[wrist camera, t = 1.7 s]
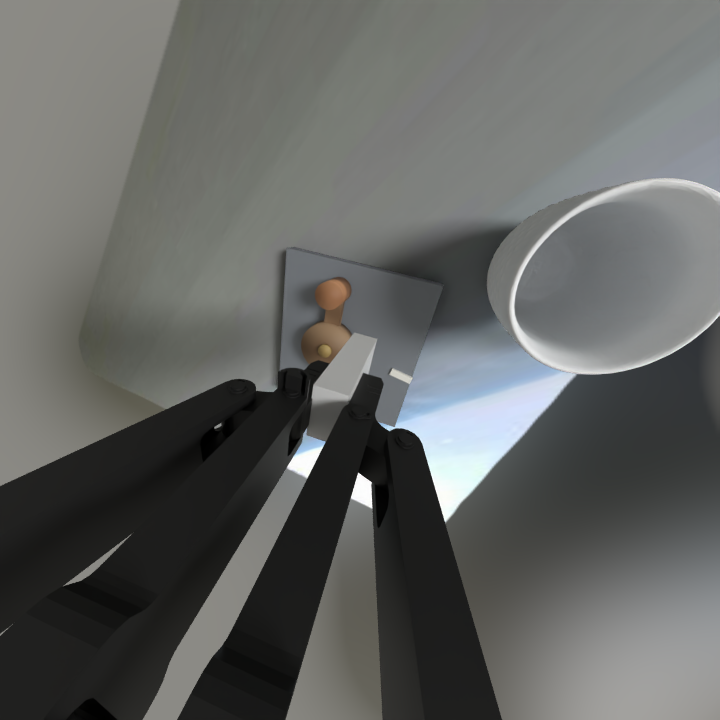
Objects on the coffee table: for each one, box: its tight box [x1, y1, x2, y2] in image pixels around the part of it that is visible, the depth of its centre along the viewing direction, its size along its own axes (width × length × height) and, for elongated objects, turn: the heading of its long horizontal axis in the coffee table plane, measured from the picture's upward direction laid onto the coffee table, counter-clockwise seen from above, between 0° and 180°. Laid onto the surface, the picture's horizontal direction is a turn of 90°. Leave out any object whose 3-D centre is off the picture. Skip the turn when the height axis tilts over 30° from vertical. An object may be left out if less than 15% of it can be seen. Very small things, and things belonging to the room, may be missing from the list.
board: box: [280, 247, 444, 427], centre depth 33 cm, size 20×18×2 cm
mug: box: [487, 178, 720, 374], centre depth 20 cm, size 15×11×13 cm
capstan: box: [301, 277, 352, 364], centre depth 31 cm, size 17×6×4 cm, turn 168°
